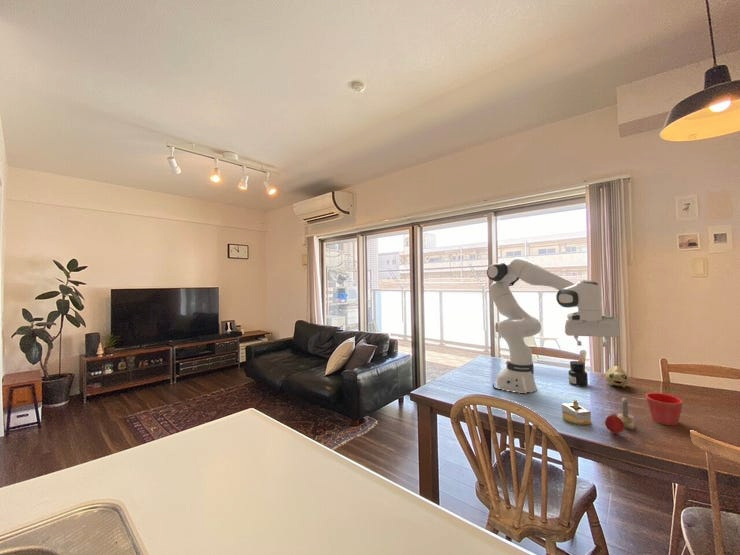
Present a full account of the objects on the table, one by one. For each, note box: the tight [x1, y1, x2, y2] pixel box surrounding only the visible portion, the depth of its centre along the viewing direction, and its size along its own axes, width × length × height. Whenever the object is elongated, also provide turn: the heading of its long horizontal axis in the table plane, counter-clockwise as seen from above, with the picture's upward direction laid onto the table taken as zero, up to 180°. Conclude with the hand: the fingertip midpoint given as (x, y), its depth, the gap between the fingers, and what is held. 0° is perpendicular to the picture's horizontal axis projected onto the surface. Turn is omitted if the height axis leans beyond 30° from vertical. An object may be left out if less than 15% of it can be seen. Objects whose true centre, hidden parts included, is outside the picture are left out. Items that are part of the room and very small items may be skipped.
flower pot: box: [645, 392, 684, 426], centre depth 127 cm, size 11×11×10 cm
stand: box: [617, 397, 635, 430], centre depth 125 cm, size 5×5×11 cm
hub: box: [562, 399, 592, 427], centre depth 132 cm, size 10×10×8 cm
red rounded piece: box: [604, 413, 625, 435], centre depth 120 cm, size 6×6×8 cm
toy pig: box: [605, 365, 630, 388], centre depth 166 cm, size 10×12×11 cm
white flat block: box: [561, 402, 592, 420], centre depth 132 cm, size 6×9×3 cm, turn 3°
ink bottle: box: [568, 360, 589, 387], centre depth 172 cm, size 10×9×12 cm
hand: (591, 345), depth 141 cm, fingers open, 8 cm apart
